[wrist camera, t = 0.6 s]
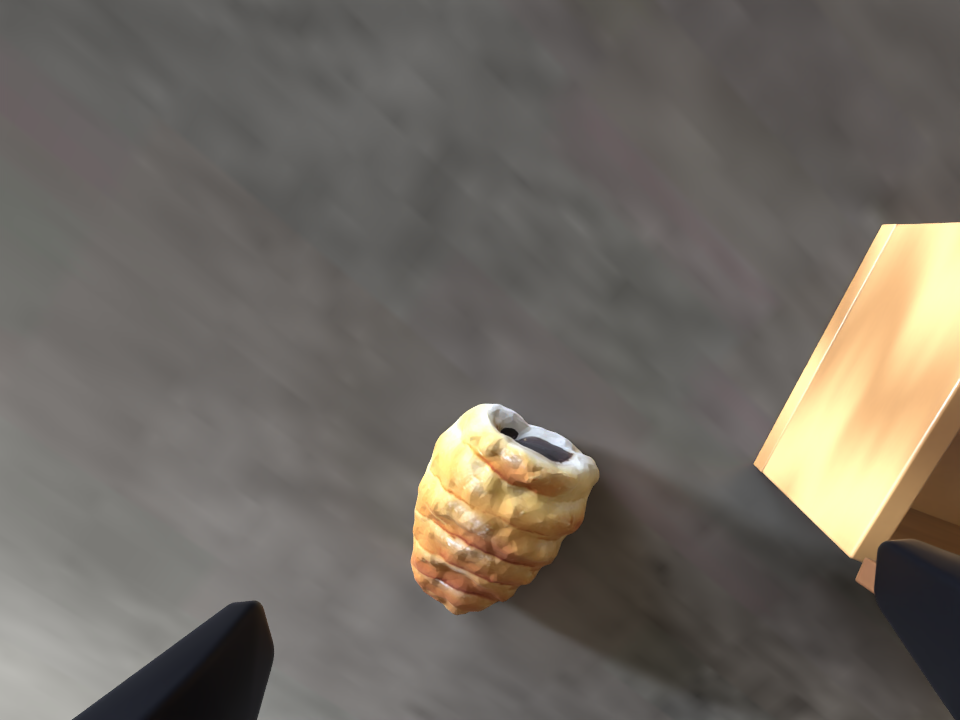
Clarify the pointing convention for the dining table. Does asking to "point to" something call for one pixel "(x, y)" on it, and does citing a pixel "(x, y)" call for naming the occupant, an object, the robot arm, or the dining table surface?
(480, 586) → the pastry
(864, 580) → the lid
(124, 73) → the dining table surface
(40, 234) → the dining table surface
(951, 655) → the robot arm
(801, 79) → the dining table surface
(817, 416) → the caddy
